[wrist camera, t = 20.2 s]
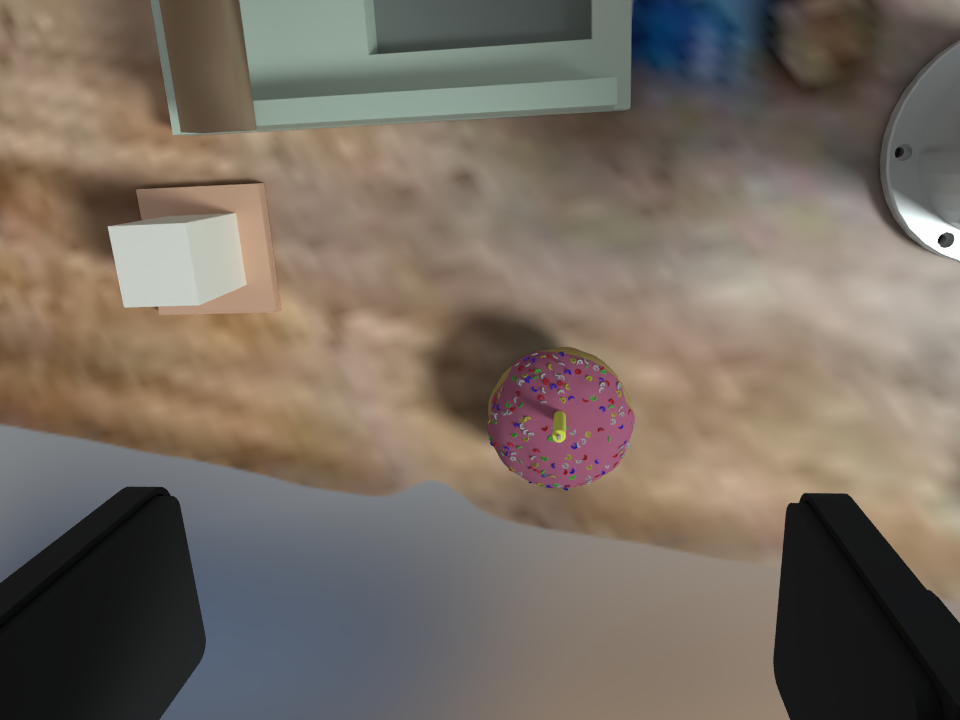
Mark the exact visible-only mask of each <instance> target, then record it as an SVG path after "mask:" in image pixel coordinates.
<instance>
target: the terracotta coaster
mask: <svg viewBox="0 0 960 720" xmlns="http://www.w3.org/2000/svg"><path fill="white" fill-rule="evenodd" d="M136 192H137V198H138V203H139V208H140V214H141V219H142V220H147V219H153V218H159V217H165V216H179V215H202V214H224V213H236V217H237V224H238V231H239V237H240V244H241V251H242V257H243V264H244V271H245V277H246V284H247V285H245V286H243V287H241V288H238V289H236V290H234V291H231V292H229V293H227V294H224V295H222V296H220V297H218V298H215V299H213V300H211V301H208V302H206V303H204V304H201V305H193V306H158V310H159V315H179V314H220V313H262V312H277V311H279V310H281V306H280V299H279V291H278V284H277V277H276V269H275V262H274V255H273V247H272V240H271V232H270V225H269V218H268V210H267V203H266V196H265V188H264V183H253V184H232V185H211V186H191V187H170V188H150V189H136Z"/></svg>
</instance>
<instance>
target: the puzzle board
mask: <svg viewBox="0 0 960 720" xmlns="http://www.w3.org/2000/svg"><path fill="white" fill-rule="evenodd" d="M150 2H151V8H152V14H153V20H154V26H155V32H156V38H157V43H158V49H159V55H160V61H161V67H162V73H163V79H164V85H165V91H166V97H167V103H168V109H169V115H170V120H171V126H172V132H173V135H192V136H196V135H214V134H231V133H248V132H265V131H282V130H299V129H316V128H334V127H351V126H368V125H385V124H402V123H419V122H436V121H454V120H471V119H488V118H505V117H522V116H539V115H556V114H574V113H591V112H608V111H625V110H628V109H630V108H631V32H632V0H239V2H240V9H241V17H242V24H243V31H244V39H245V46H246V53H247V61H248V68H249V76H250V83H251V90H252V98H253V105H254V113H255V120H256V127H257V130H248V131H231V132H214V133H182V132H181V131H180V124H179V118H178V112H177V106H176V100H175V94H174V88H173V82H172V76H171V70H170V64H169V58H168V52H167V46H166V40H165V34H164V28H163V22H162V16H161V10H160V4H159V0H150Z"/></svg>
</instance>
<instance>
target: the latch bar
mask: <svg viewBox="0 0 960 720" xmlns="http://www.w3.org/2000/svg"><path fill="white" fill-rule="evenodd" d="M159 4H160V10H161V16H162V22H163V28H164V34H165V40H166V46H167V52H168V58H169V64H170V70H171V76H172V82H173V88H174V94H175V100H176V106H177V112H178V118H179V124H180V131H181V132H182V133H214V132H231V131H248V130H257V127H256V120H255V113H254V105H253V98H252V90H251V83H250V76H249V68H248V61H247V53H246V46H245V39H244V31H243V24H242V17H241V9H240V2H239V0H159Z"/></svg>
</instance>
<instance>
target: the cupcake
mask: <svg viewBox="0 0 960 720" xmlns="http://www.w3.org/2000/svg"><path fill="white" fill-rule="evenodd" d="M488 416H489V420H488V425H487V429H488V433H489V439H490V440H491V442H490V444H491V445H492V444H493V445H492V446H494V448H495V450H496V451H497V453H498V455H499V457H500V459H501V460H502V462H503V463H504V464H505V465H506V466H507V467H508V468H509V470H510V471H512V472H515V473H516V474H518V475H519V476H521V477H522V478H524V479H526V480H528V481H530V482H529V483H534V484H538V485H539V486H543V487H548V488H563V489H564V490H568V488H569V487H577V486H582V485H585V484H588V483H591V482H593V481H595V480H597V479H599V478H600V477H602V476H604V475H605V474H607V473H608V472H610V471H612V470H613V469H614V468H616V467H617V466H618V464H619V463H620V461H621V460H622V458H623V457H624V456H625V455H624V454H625V451H626V449H627V448H629V447H630V444H629V440H630V437H631V434H632V431H633V427H635V426H634V422H635V416H634V412H633V408H632V405H631V403H630V400H629V397H628V395H627V393H626V390H625V389H624V387H623V385H622V383H621V381H620V380H619V378H618V377H617V375H616V374H615V373H614V372H613V370H612V369H611V368H610V367H609V366H608V365H607V364H605V363H604V362H603V361H602V360H600V359H599V358H597V357H596V356H594V355H591V354H589V353H586V352H583V351H580V350H578V349H575V348H571V347H563V348H556V349H550V350H539V351H536V352H533V353H530V354H527V355H525V356H523V357H521V358H520V359H518V360H517V361H516V362H515V363H514V364H513V366H511V367H510V368H509V369H507V370H506V371H505V372H504V373H503V375H502V376H501V378H500V379H499V381H498V383H497V385H496V386H495V388H494V389H493V391H492V393H491V396H490V399H489V405H488ZM627 446H628V447H627ZM566 488H567V489H566Z"/></svg>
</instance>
